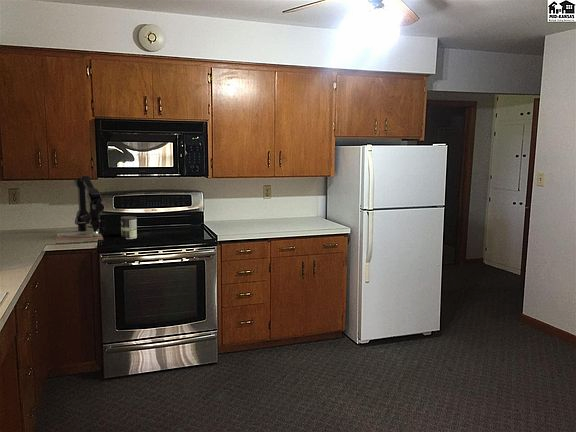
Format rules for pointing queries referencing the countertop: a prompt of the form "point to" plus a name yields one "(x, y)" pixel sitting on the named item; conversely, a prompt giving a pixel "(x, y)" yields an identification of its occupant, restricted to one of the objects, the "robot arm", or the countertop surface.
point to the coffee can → (129, 227)
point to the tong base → (72, 234)
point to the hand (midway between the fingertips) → (95, 233)
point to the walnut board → (78, 239)
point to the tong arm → (95, 234)
